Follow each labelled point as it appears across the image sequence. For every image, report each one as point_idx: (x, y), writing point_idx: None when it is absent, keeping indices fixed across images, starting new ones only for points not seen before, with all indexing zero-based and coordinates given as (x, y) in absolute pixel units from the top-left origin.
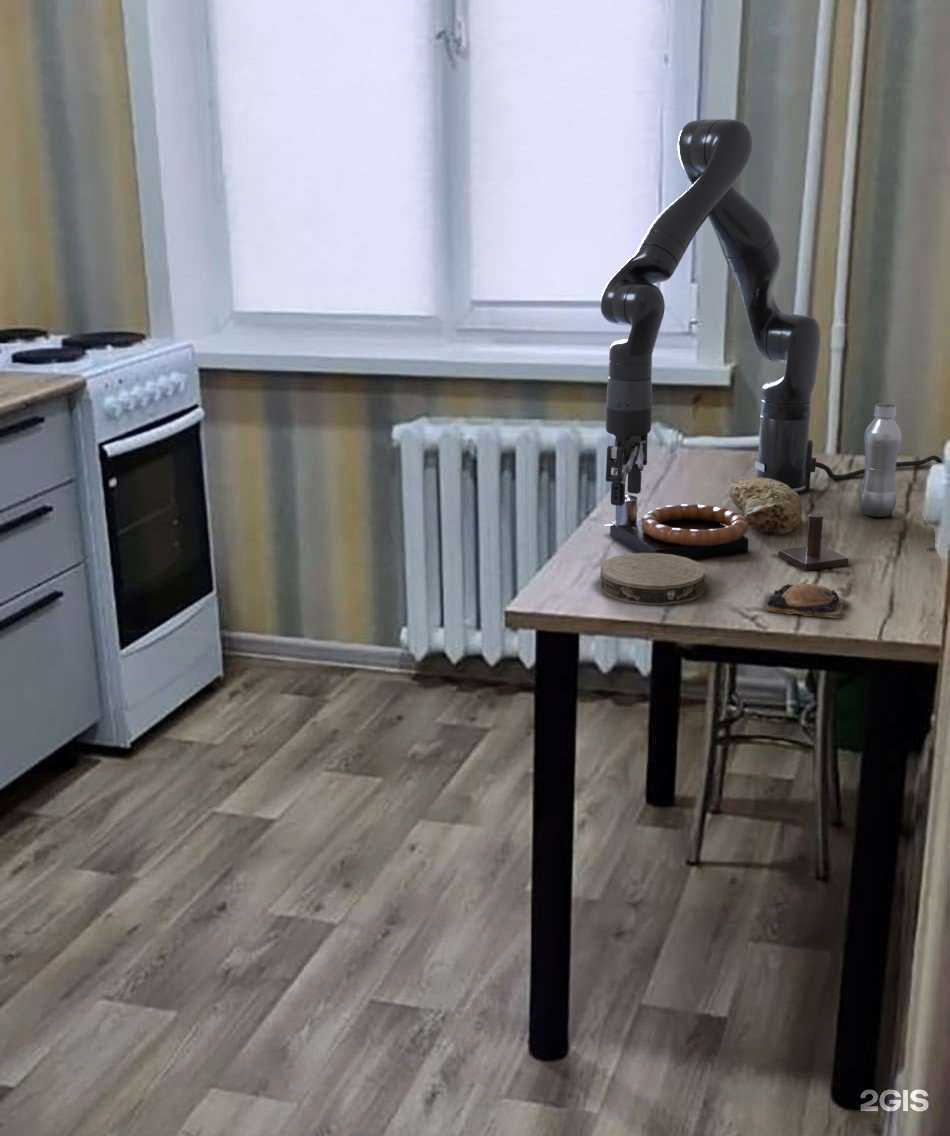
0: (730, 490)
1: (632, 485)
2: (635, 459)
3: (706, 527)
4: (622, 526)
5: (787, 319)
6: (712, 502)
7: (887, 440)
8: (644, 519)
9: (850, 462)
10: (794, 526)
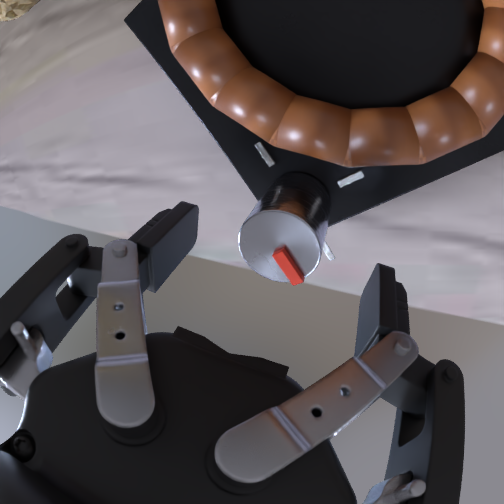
0: (12, 16)
1: (183, 242)
2: (184, 346)
3: None
4: (331, 213)
5: None
6: (24, 58)
7: None
8: (393, 161)
9: None
10: None
